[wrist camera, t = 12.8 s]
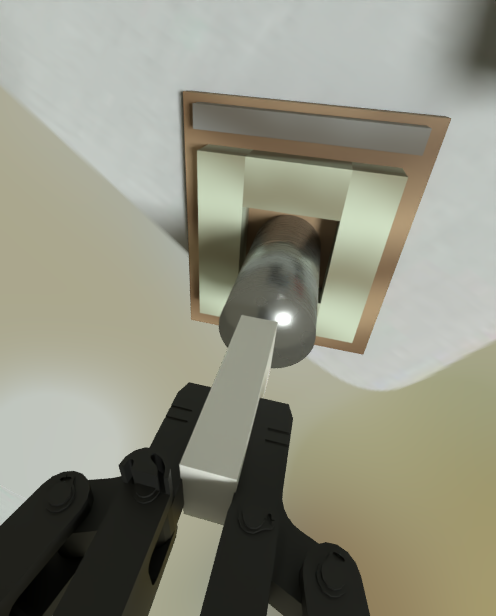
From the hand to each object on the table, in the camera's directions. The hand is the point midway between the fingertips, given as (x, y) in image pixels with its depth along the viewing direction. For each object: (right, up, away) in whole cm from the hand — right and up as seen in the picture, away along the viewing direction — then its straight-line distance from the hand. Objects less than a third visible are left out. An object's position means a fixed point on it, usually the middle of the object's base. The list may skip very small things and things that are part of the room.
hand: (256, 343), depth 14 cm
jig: (+3, +6, +9) cm, 11 cm away
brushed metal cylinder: (+2, +5, +8) cm, 10 cm away
